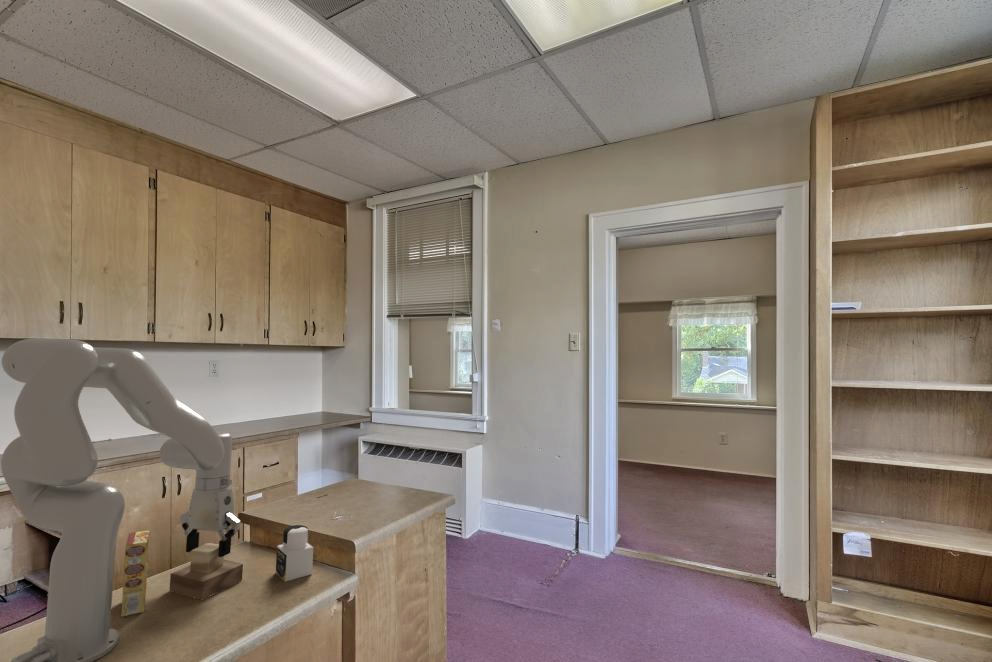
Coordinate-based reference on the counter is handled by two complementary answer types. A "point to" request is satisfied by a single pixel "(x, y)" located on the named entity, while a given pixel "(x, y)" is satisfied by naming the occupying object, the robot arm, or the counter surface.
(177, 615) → the counter surface
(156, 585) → the counter surface
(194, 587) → the walnut block
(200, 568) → the maple cube
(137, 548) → the candy box
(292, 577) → the medicine bottle
